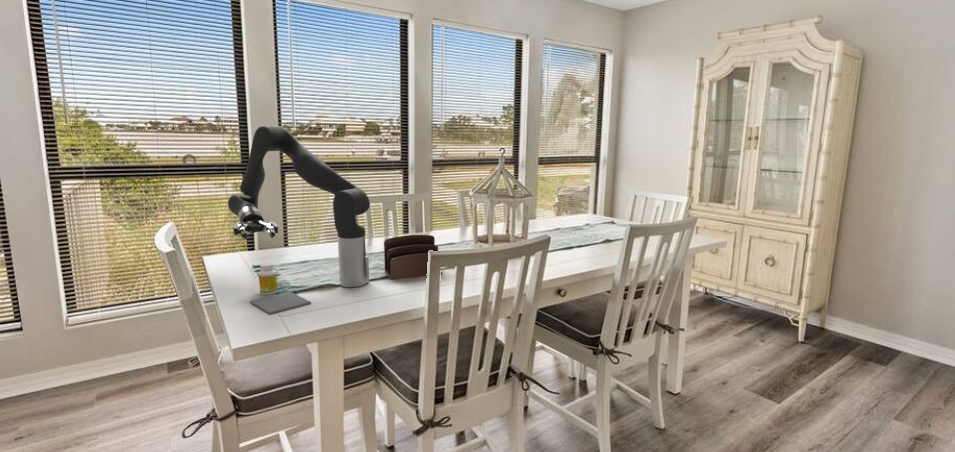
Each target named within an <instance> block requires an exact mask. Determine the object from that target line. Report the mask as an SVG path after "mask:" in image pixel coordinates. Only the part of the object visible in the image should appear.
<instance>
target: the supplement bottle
mask: <svg viewBox="0 0 955 452" xmlns="http://www.w3.org/2000/svg"><path fill="white" fill-rule="evenodd" d="M259 267H260V271H258V281H259V293H260V294H261V295H263V296H267V295H268V296H271V295H275V294H277V292H278V291H277V290H278V279H277V278H278V277H277V270H276V269H274V263H273V262H262V263H261V264H260V266H259Z"/></svg>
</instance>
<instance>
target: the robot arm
mask: <svg viewBox="0 0 955 452" xmlns="http://www.w3.org/2000/svg"><path fill="white" fill-rule="evenodd" d="M268 152H280V153H283V154H284V155H286V156H287V157H288V158H289V159H291V163H292V166H293V167H292V168H293V170H294V171H295V173H296V174H297V175H298V176H299V177H300V178H301V179H302V180H303V181H304V182H306V183H307V184H309V185H310V186H312V187H314V188H317V189H320V190H322V191H325V192H327V193H330V194H332V195H334V196H333V201H332V210H333V219H334V227H335V230H336V232H337V233H336V234H337V249H338V251H337V252H338V268H339V269H338V271H339V273H338V274H339V285H340V286H341V287H345V288H356V287H357V288H358V287H362V286H365V285H366V284H369V283H370V264H369V256H368V255H367V253H366V252H367V250H366V249H367V248H366V247H367V245H366V227H364V226H362V225H359V224H358V223H357V216H360V215H363V214H365V213H366V212H368V210H369V209H370V207H371V206H370V204H371V203H370V199H369V197H368V194H366V192H365V191H364V190H362V188H360V187H358V186H356V185H355V184H354V183H351V182H350V181H349V180H347V179H346V178H344V177H343V176H342V175H340V174H339V173H337V172H336V171H335V170H334V169H333V168H332V167H330V166H329V165H328V164H326V162H324V161H323V160H322V159H320V158H319V157H318V156H317V155H315V154H314V153H312V152H311V151H310V150H309V149H307V148H306V147H305V146H304V145H303V144H301V143H300V142H299V141H298V140H297V139H296V138H295V137H294V136H293V134H292V133H290V132H289V130H288V129H286V128H285V127H283V126H281V125H261V126H258V127H257V128H256V130H255V132H254V134H253V138H252V141H251V147H250V152H249V157H248V158H249V159H248V163H247V167H246V170H245V173H244V176H243V178H242V181H241V183H240V186H239V190H240V192H241V193H243V194H241V193H233V194H231V196H230V197H229V198H228V201H227V205H228V209H229V210H230V212H231V213H233V214H234V215H235V216H236V217H238V221H239V223H240V224H239V223H238V222H232V231H233V235H234V236H238V235H240V236H241V238H242V239H244V240H247V239H248V235H249V234H252V233H253V234H255V233H262V234H268V235H269V236H270V238H271V239H274V237H276V234H278V233H279V225H278V224H277V223H276V221H274V220H271V221H270V222H269V223H267V222H266V221H265V219H264V217H263V216H262V214H261V212H260V211H259V209H258V207H259V196H260V191H261V189H262V186H263V184H264V181H265V177H266V171H265V167H264V163H263V162H264V158H265V156H266V155H267V153H268Z"/></svg>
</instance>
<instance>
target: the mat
mask: <svg viewBox="0 0 955 452" xmlns="http://www.w3.org/2000/svg"><path fill="white" fill-rule="evenodd" d="M249 303H250V304H252V305H253V306H255V307H257V308H258V309H260V310H262V311H263V312H265V313H267V314H268V315H273V314H276V313H280V312H281V313H282V312H285V311H288V310H292V309H295V308H299V307H302V306H303V307H304V306H306V305H307V306H308V305H310V304H312V302H311V301H310V300H308V299H306V298H303V297H302V296H300V295H298V294H295V293H293V292H292V291H286V292H282V293H278V294H277V293H276V294H271V295H268V296H265V297H260V298H257V299H252V300H249Z"/></svg>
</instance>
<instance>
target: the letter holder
mask: <svg viewBox="0 0 955 452" xmlns="http://www.w3.org/2000/svg"><path fill="white" fill-rule="evenodd" d="M435 242H436V240H435V236H434V235H430V234H411V235H410V234H409V235H406V234H405V235H400V236H399V235H398V236H393V237H390V238H386V239H385V240H384V242H383V248H384V249H383V253H384V259H383V260H384V273H385V274H386V276H387V275H388V276H387V277H388V278H389V280H400V279H407V278H408V279H409V278H410V279H411V278H417V277H427V276H426V274H427V262H428V251H429V250H433V251H438V252H439V246H438V245H437V244H435ZM440 275H443V271H442V272H441V274H440Z"/></svg>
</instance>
